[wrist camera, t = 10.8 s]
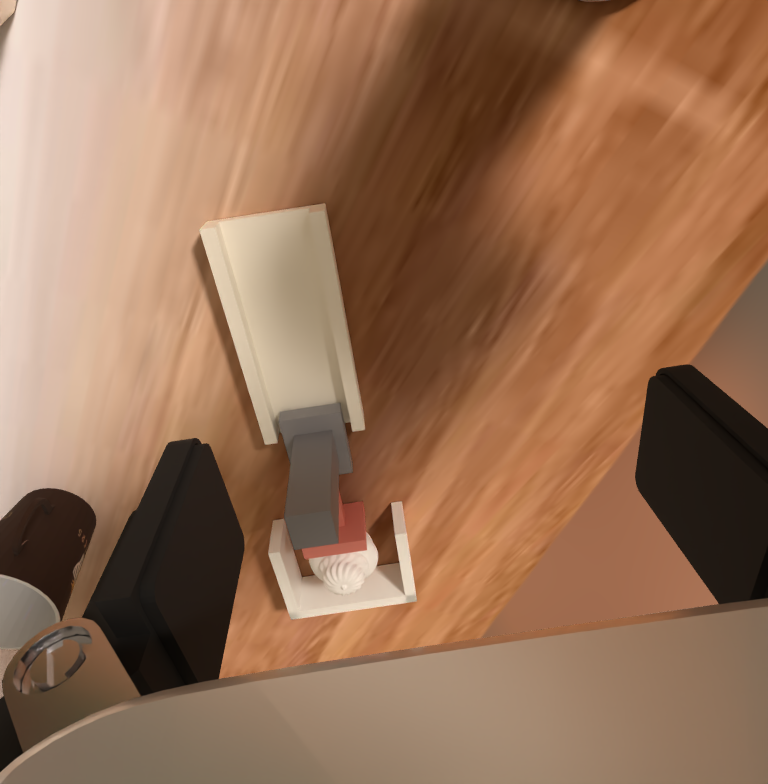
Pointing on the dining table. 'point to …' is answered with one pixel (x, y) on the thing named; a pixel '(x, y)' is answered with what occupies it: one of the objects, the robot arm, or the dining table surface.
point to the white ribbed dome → (346, 569)
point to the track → (285, 312)
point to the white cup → (6, 9)
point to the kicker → (320, 483)
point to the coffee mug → (40, 561)
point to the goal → (317, 600)
